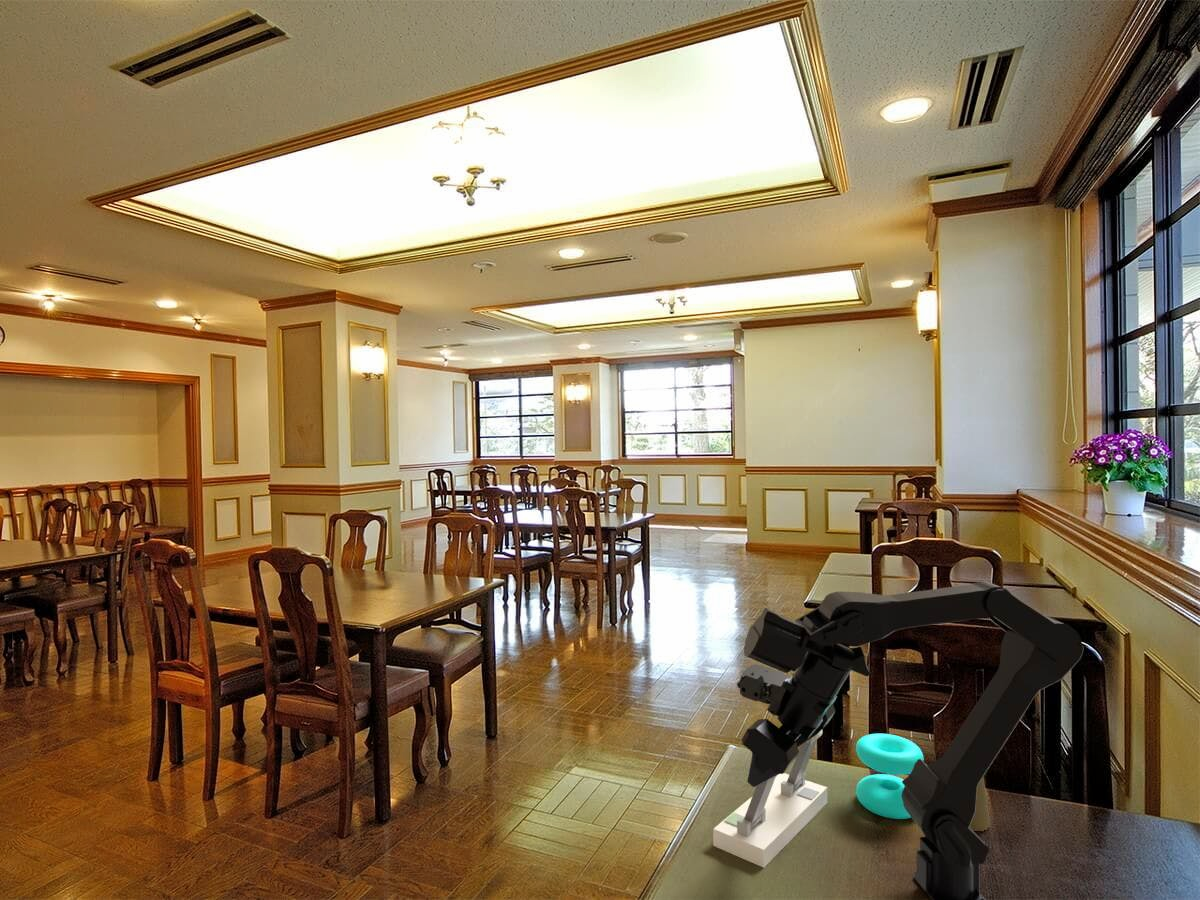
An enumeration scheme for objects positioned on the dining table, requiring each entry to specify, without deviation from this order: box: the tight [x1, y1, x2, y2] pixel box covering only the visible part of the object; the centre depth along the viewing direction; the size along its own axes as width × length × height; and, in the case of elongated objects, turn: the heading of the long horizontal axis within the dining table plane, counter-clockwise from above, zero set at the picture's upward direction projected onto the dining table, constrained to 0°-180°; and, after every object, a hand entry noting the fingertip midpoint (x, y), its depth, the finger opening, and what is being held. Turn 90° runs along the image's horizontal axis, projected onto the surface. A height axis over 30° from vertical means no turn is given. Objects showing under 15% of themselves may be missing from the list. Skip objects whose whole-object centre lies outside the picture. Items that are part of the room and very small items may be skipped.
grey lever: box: [786, 729, 824, 790], centre depth 110 cm, size 2×3×11 cm, turn 140°
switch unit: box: [712, 772, 828, 868], centre depth 105 cm, size 8×22×4 cm, turn 140°
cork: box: [970, 776, 991, 832], centre depth 106 cm, size 6×6×11 cm
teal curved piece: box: [855, 733, 924, 820], centre depth 110 cm, size 10×10×10 cm
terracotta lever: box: [744, 775, 777, 829], centre depth 99 cm, size 2×3×11 cm, turn 139°
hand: (764, 769), depth 96 cm, fingers open, 9 cm apart
